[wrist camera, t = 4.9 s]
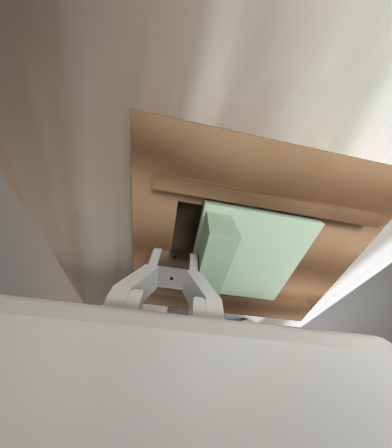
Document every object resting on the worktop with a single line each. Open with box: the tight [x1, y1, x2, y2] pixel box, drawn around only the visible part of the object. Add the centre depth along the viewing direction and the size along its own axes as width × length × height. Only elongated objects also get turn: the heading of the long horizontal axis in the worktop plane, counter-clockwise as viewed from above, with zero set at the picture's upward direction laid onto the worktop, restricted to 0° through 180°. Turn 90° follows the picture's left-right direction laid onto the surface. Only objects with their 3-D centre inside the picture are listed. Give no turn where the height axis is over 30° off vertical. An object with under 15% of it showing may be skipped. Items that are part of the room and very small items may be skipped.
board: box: [130, 109, 392, 321], centre depth 13 cm, size 16×18×3 cm
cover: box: [188, 199, 325, 315], centre depth 11 cm, size 8×8×3 cm
